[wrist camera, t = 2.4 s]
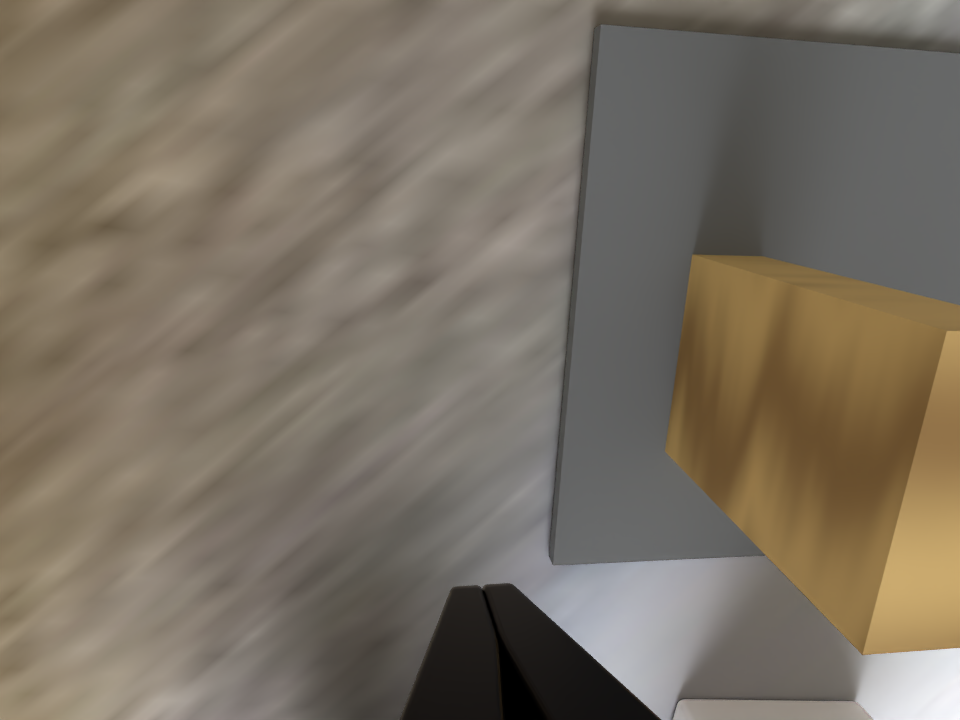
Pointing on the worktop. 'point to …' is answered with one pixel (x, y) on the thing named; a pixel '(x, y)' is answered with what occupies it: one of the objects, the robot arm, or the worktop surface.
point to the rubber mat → (729, 239)
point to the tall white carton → (768, 710)
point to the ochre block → (829, 439)
